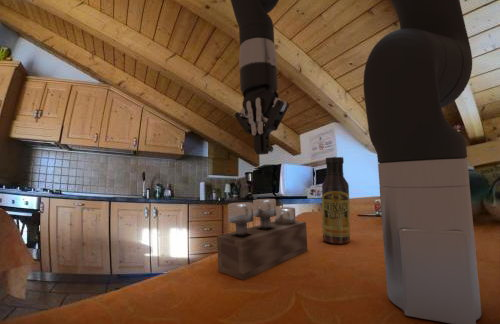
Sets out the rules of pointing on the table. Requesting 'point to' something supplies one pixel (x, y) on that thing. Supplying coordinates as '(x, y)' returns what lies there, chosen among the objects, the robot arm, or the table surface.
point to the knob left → (240, 216)
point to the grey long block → (260, 249)
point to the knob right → (285, 216)
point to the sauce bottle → (335, 203)
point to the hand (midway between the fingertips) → (262, 154)
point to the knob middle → (264, 211)
